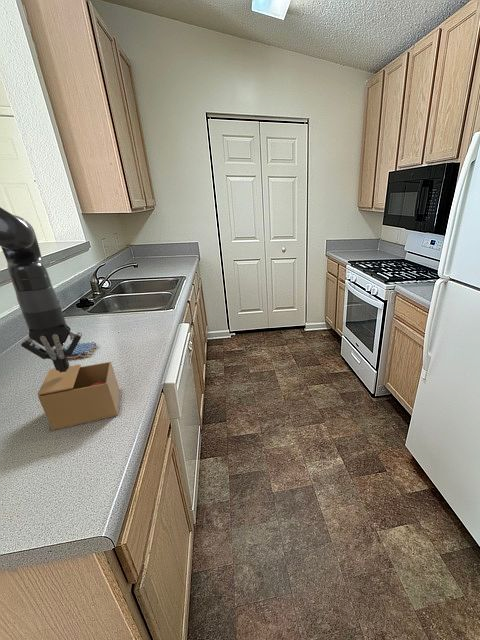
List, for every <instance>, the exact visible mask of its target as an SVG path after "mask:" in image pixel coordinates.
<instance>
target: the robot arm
mask: <svg viewBox="0 0 480 640" xmlns="http://www.w3.org/2000/svg"><path fill="white" fill-rule="evenodd" d="M0 248H1V251H2V253H3V255H4V258H5V261H6V263H7V273H8V276H9V279H10V281H11V283H12V286H13V289H14V292H15V295H16V296H15V297H16V301H17V303H18V305H19V309H20V311H21V313H22V316H23V318H24V321H25V323H26V327H27V329H28V337H27V338H26V339H24V340H23V341H22V342H21V344H20V345H21V347H22V348H24V349H25V350H27V351H29V352H30V353H32V354H34V355H36V356H37V357H39V358H40V359H42V360H47V359H48V360H50V361H52V363H53V366H54V369H56V370H57V371H59V372H66V371H67V369H68V368H69V366H70V363H69V360H68V358H67V357H66V356H70V355H71V354H72V353H73V351H74V349H75V347H76V346H77V344H78V343H80V340H81V339H82V337H83V334H82V332H75V331H73V330H72V329H71V328H70V326H69V325H68V324H67V322H66V319H65V316H64V314H63V313H64V312H63V309H62V307H61V304H60V299H59V298H58V295H57V292H56V291H55V289H54V287H53V284H52V282H51V281H52V280H51V278H50V275H49V272H48V270H47V268H46V266H45V263H44V261H43V258H42V253H41V249H40V246H39V242H38V238H37V235H36V231H35V229H34V228H33V226H32V225H31V223H30V222H29V221H27V220H26V219H25V218H23V217H21V216H19V215H16V214H12V213H11V212H9V211H7V210H6V209H4V208H2V207H1V206H0ZM69 337H70V338H69ZM68 338H69V340H70V341H71V343H69V344H70V346H69V348H68V349H66V350H65V348H66V346H65V344H66V342H67V339H68ZM38 344H39V345H38Z"/></svg>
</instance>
